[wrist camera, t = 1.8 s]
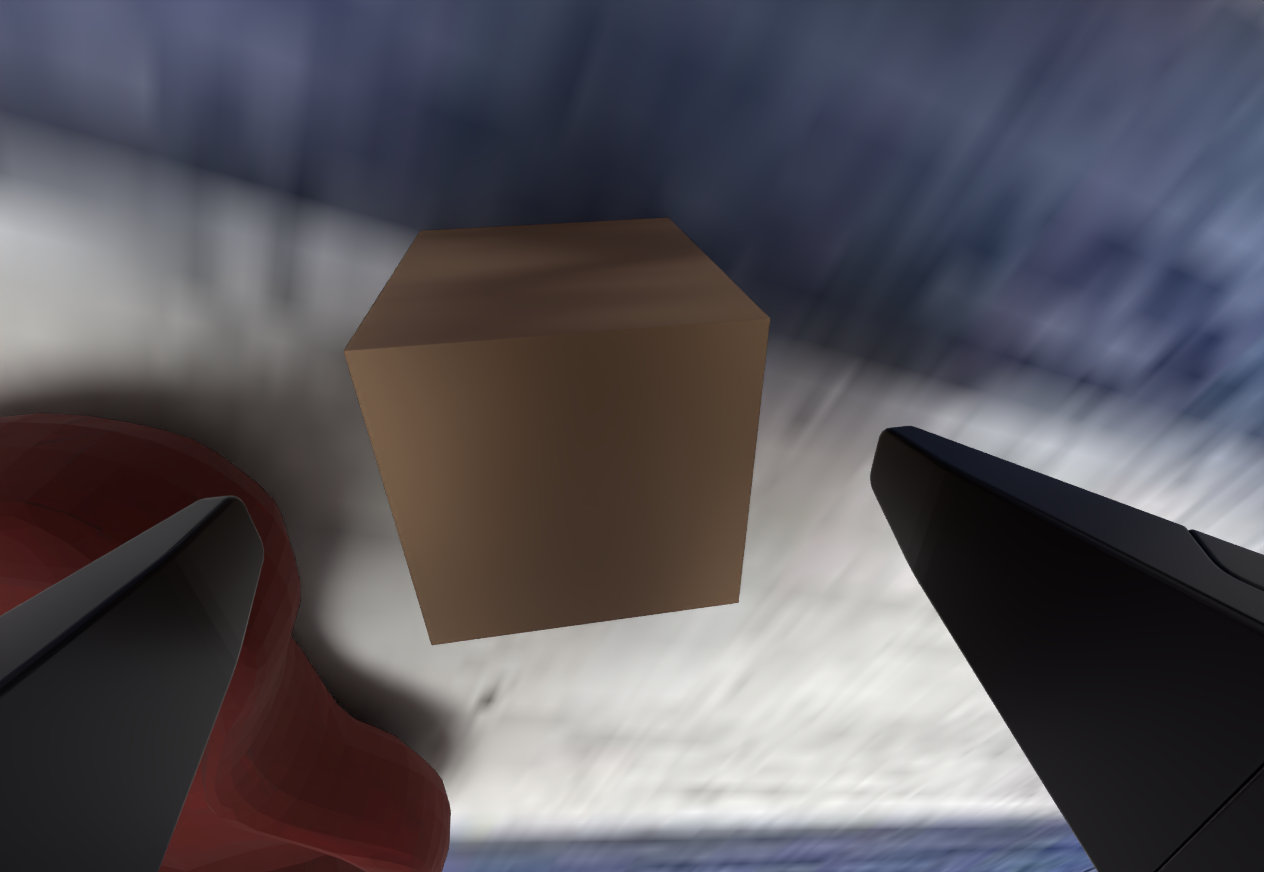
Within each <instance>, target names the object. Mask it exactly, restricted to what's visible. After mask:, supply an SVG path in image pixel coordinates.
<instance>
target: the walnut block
mask: <svg viewBox="0 0 1264 872" xmlns="http://www.w3.org/2000/svg"><path fill="white" fill-rule="evenodd" d="M769 325H770V318H769V317H768V316H767V315H766V314H765V313H764V312H763V311H762V310H761V309H760V308H759V307H758V306H757V305H756V304H755V303H754V302H753V301H752V300H751V299H750V298H749V297H748V296H747V295H746V294H745V293H744V292H743V291H742V290H741V289H740V288H739V287H738V286H737V285H736V284H735V283H734V282H733V281H732V280H731V279H730V278H729V277H728V276H727V275H726V274H725V273H724V272H723V271H722V270H721V269H720V268H719V267H718V266H717V265H716V264H715V263H714V262H713V261H712V260H711V259H710V258H709V257H708V256H707V255H706V254H705V253H704V252H703V251H702V250H701V249H700V248H699V247H698V246H697V245H696V244H695V243H694V242H693V241H692V240H691V239H690V238H689V237H688V236H687V235H686V234H685V233H684V232H683V231H682V230H681V229H680V228H679V227H678V226H677V225H676V224H675V223H674V222H673V221H672V220H671V219H670V218H669V217H668V218H649V219H630V220H612V221H593V222H574V223H555V224H536V225H517V226H499V227H480V228H461V229H442V230H423V231H420V232H419V233H418V235H417V236H416V238H415V240H414V241H413V243H412V244H411V246H410V247H409V249H408V251H407V252H406V254H405V255H404V257H403V258H402V260H401V262H400V263H399V265H398V266H397V268H396V269H395V271H394V273H393V274H392V276H391V277H390V279H389V280H388V282H387V283H386V285H385V287H384V288H383V290H382V291H381V293H380V294H379V296H378V298H377V299H376V301H375V302H374V304H373V305H372V307H371V309H370V310H369V312H368V313H367V315H366V316H365V318H364V320H363V321H362V323H361V324H360V326H359V327H358V329H357V331H356V332H355V334H354V335H353V337H352V338H351V340H350V342H349V343H348V345H347V346H346V348H345V349H344V355H345V358H346V361H347V365H348V368H349V371H350V375H351V378H352V381H353V385H354V388H355V391H356V395H357V398H358V401H359V405H360V408H361V411H362V415H363V418H364V421H365V425H366V428H367V431H368V435H369V438H370V441H371V445H372V448H373V451H374V455H375V458H376V461H377V465H378V468H379V471H380V475H381V478H382V481H383V485H384V488H385V491H386V495H387V498H388V501H389V505H390V508H391V511H392V515H393V518H394V521H395V525H396V528H397V531H398V535H399V538H400V541H401V545H402V548H403V551H404V555H405V558H406V561H407V565H408V568H409V571H410V575H411V578H412V581H413V585H414V588H415V591H416V595H417V598H418V601H419V605H420V608H421V611H422V615H423V618H424V621H425V625H426V628H427V631H428V635H429V638H430V641H431V645H437V644H444V643H451V642H458V641H466V640H473V639H480V638H487V637H494V636H502V635H509V634H516V633H523V632H531V631H538V630H545V629H552V628H559V627H567V626H574V625H581V624H588V623H596V622H603V621H610V620H617V619H624V618H632V617H639V616H646V615H653V614H661V613H668V612H675V611H682V610H689V609H697V608H704V607H711V606H718V605H726V604H733V603H738V602H739V593H740V584H741V575H742V566H743V557H744V549H745V540H746V531H747V522H748V513H749V504H750V495H751V486H752V477H753V468H754V459H755V450H756V441H757V432H758V423H759V414H760V405H761V396H762V387H763V379H764V370H765V361H766V352H767V343H768V334H769Z"/></svg>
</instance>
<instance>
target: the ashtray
mask: <svg viewBox="0 0 1264 872" xmlns="http://www.w3.org/2000/svg"><path fill="white" fill-rule="evenodd" d="M221 496H236V497H238V498H240V499H241V500H242V501H243V503H244V504H245V506H246V508H247V510H248V512H249V515H250V517H251V519H252V521H253V523H254V525H255V527H256V529H257V532H258V534H259V536H260V538H261V540H262V543H263V547H264V559H263V564H262V568H261V572H260V576H259V580H258V584H257V588H256V592H255V596H254V600H253V604H252V608H251V612H250V616H249V620H248V624H247V628H246V632H245V636H244V640H243V644H242V647H241V651H240V654H239V658H238V661H237V664H236V667H235V670H234V673H233V676H232V679H231V682H230V684H229V687H228V689H227V692H226V695H225V697H224V700H223V703H222V705H221V708H220V711H219V713H218V716H217V718H216V721H215V724H214V726H213V729H212V732H211V734H210V737H209V740H208V742H207V745H206V747H205V750H204V753H203V755H202V758H201V761H200V763H199V766H198V769H197V771H196V774H195V776H194V779H193V782H192V784H191V787H190V790H189V792H188V795H187V798H186V800H185V803H184V805H183V808H182V811H181V813H180V816H179V819H178V821H177V824H176V827H175V829H174V832H173V834H172V837H171V840H170V842H169V845H168V848H167V850H166V853H165V856H164V858H163V861H162V863H161V866H160V869H159V871H158V872H442V870H443V867H444V863H445V860H446V857H447V853H448V849H449V841H450V816H451V810H450V804H449V801H448V797H447V794H446V791H445V787H444V784H443V781H442V779H441V777H440V776H439V775H438V773H437V772H436V771H435V770H434V769H433V768H432V767H431V766H430V765H429V764H428V763H427V762H426V761H425V760H424V759H423V758H422V757H420V756H419V755H418V754H417V753H416V752H415V751H413V750H412V749H411V748H410V747H408V746H407V745H406V744H405V743H403V742H402V741H401V740H399V739H398V738H397V737H396V736H394V735H392V734H390V733H388V732H385V731H383V730H381V729H379V728H377V727H374V726H372V725H369V724H367V723H364V722H362V721H359V720H356V719H354V718H353V717H352V716H351V715H349V714H348V713H347V712H346V711H345V710H344V709H343V708H342V707H341V706H339V705H338V704H337V702H336V701H335V700H334V698H333V697H332V695H331V694H330V692H329V691H328V690H327V688H326V687H325V685H324V684H323V682H322V681H321V679H320V677H319V676H318V674H317V673H316V671H315V670H314V668H313V666H312V665H311V663H310V662H309V660H308V659H307V657H306V656H305V654H304V652H303V651H302V649H301V648H300V646H299V645H298V644H297V643H296V642H295V641H294V639H293V638H292V637H291V634H292V631H293V627H294V623H295V620H296V616H297V613H298V609H299V606H300V602H301V589H300V577H299V573H298V569H297V564H296V560H295V556H294V553H293V550H292V547H291V544H290V541H289V537H288V534H287V531H286V527H285V524H284V521H283V517H282V515H281V513H280V511H279V509H278V507H277V505H276V502H275V500H274V499H273V498H272V497H271V496H270V495H269V494H268V493H267V492H266V491H265V490H264V489H263V488H262V487H261V486H260V485H259V484H258V483H257V482H255V481H254V480H253V479H251V478H250V477H249V476H247V475H246V474H245V473H243V472H242V471H241V470H240V469H238V468H237V467H236V466H234V465H233V464H232V463H230V462H229V461H227V460H226V459H225V458H223V457H222V456H221V455H219V454H218V453H216V452H215V451H213V450H211V449H209V448H208V447H206V446H204V445H202V444H201V443H199V442H197V441H195V440H193V439H190V438H187V437H184V436H181V435H178V434H175V433H172V432H169V431H166V430H161V429H157V428H152V427H147V426H143V425H138V424H134V423H128V422H122V421H116V420H111V419H105V418H99V417H93V416H84V415H69V414H53V413H34V414H24V415H14V416H5V417H0V616H1V615H3V614H5V613H6V612H8V611H10V610H11V609H13V608H15V607H16V606H18V605H20V604H22V603H23V602H25V601H27V600H28V599H30V598H32V597H34V596H35V595H37V594H39V593H40V592H42V591H44V590H46V589H47V588H49V587H51V586H52V585H54V584H56V583H58V582H59V581H61V580H63V579H64V578H66V577H68V576H70V575H71V574H73V573H75V572H76V571H78V570H80V569H82V568H83V567H85V566H87V565H88V564H90V563H92V562H93V561H95V560H97V559H99V558H100V557H102V556H104V555H105V554H107V553H109V552H111V551H112V550H114V549H116V548H117V547H119V546H121V545H123V544H124V543H126V542H128V541H129V540H131V539H133V538H135V537H136V536H138V535H140V534H141V533H143V532H145V531H147V530H148V529H150V528H152V527H153V526H155V525H157V524H159V523H160V522H162V521H164V520H165V519H167V518H169V517H170V516H172V515H174V514H176V513H177V512H179V511H181V510H182V509H184V508H186V507H188V506H189V505H191V504H193V503H194V502H196V501H198V500H200V499H204V498H211V497H221Z"/></svg>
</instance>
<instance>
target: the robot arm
mask: <svg viewBox="0 0 1264 872" xmlns="http://www.w3.org/2000/svg"><path fill="white" fill-rule="evenodd" d="M870 481H871V486H872V489H873V492H874V494H875V496H876V498H877V500H878V502H879V504H880V506H881V508H882V511H883V513H884V515H885V517H886V519H887V521H888V523H889V525H890V527H891V529H892V531H893V533H894V536H895V538H896V540H897V542H898V544H899V546H900V548H901V550H902V552H903V554H904V556H905V559H906V560H907V562H908V564H909V566H910V568H911V570H912V572H913V574H914V575H915V577H916V579H917V581H918V582H919V584H920V586H921V587H922V589H923V591H924V592H925V594H926V595H927V597H928V599H929V600H930V602H931V603H932V605H933V607H934V608H935V610H936V612H937V613H938V615H939V616H940V618H941V620H942V621H943V623H944V624H945V626H946V628H947V629H948V631H949V633H950V634H951V636H952V637H953V639H954V641H955V642H956V644H957V645H958V647H959V649H960V650H961V652H962V653H963V655H964V657H965V658H966V660H967V662H968V663H969V665H970V666H971V668H972V670H973V671H974V673H975V674H976V676H977V678H978V679H979V681H980V683H981V684H982V686H983V687H984V689H985V691H986V692H987V694H988V695H989V697H990V699H991V700H992V702H993V704H994V705H995V707H996V708H997V710H998V712H999V713H1000V715H1001V716H1002V718H1003V720H1004V721H1005V723H1006V725H1007V726H1008V728H1009V729H1010V731H1011V733H1012V734H1013V736H1014V737H1015V739H1016V741H1017V742H1018V744H1019V745H1020V747H1021V749H1022V750H1023V752H1024V754H1025V755H1026V757H1027V758H1028V760H1029V762H1030V763H1031V765H1032V766H1033V768H1034V770H1035V771H1036V773H1037V775H1038V776H1039V778H1040V779H1041V781H1042V783H1043V784H1044V786H1045V787H1046V789H1047V791H1048V792H1049V794H1050V796H1051V797H1052V799H1053V800H1054V802H1055V804H1056V805H1057V807H1058V808H1059V810H1060V812H1061V813H1062V815H1063V817H1064V818H1065V820H1066V821H1067V823H1068V825H1069V826H1070V828H1071V829H1072V831H1073V833H1074V834H1075V836H1076V838H1077V839H1078V841H1079V842H1080V844H1081V846H1082V847H1083V849H1084V850H1085V852H1086V854H1087V855H1088V857H1089V858H1090V860H1091V862H1092V863H1093V865H1094V867H1095V868H1096V870H1097V871H1098V872H1264V555H1262V554H1260V553H1257V552H1254V551H1251V550H1248V549H1246V548H1243V547H1240V546H1237V545H1234V544H1232V543H1229V542H1226V541H1223V540H1221V539H1218V538H1215V537H1213V536H1210V535H1207V534H1204V533H1202V532H1199V531H1196V530H1187V528H1186V527H1184V526H1182V525H1180V524H1177V523H1174V522H1172V521H1169V520H1166V519H1163V518H1161V517H1158V516H1155V515H1153V514H1150V513H1147V512H1144V511H1142V510H1139V509H1136V508H1134V507H1131V506H1128V505H1125V504H1123V503H1120V502H1117V501H1115V500H1112V499H1109V498H1106V497H1104V496H1101V495H1098V494H1096V493H1093V492H1090V491H1087V490H1085V489H1082V488H1079V487H1077V486H1074V485H1071V484H1068V483H1066V482H1063V481H1060V480H1058V479H1055V478H1052V477H1049V476H1047V475H1044V474H1041V473H1039V472H1036V471H1033V470H1030V469H1028V468H1025V467H1022V466H1020V465H1017V464H1014V463H1011V462H1009V461H1006V460H1003V459H1001V458H998V457H995V456H992V455H990V454H987V453H984V452H982V451H979V450H976V449H973V448H971V447H968V446H965V445H963V444H960V443H957V442H954V441H952V440H949V439H946V438H944V437H941V436H938V435H935V434H933V433H930V432H927V431H924V430H922V429H919V428H916V427H913V426H902V427H893V428H887V429H885V430H884V431H882V433H881V434H880V437H879V440H878V444H877V448H876V452H875V456H874V460H873V464H872V468H871V473H870ZM263 559H264V547H263V543H262V540H261V538H260V536H259V534H258V532H257V529H256V527H255V525H254V523H253V521H252V519H251V517H250V515H249V512H248V510H247V508H246V506H245V504H244V503H243V501H242V500H241V499H240V498H238V497H236V496H221V497H211V498H204V499H200V500H198V501H196V502H194V503H193V504H191V505H189V506H188V507H186V508H184V509H182V510H181V511H179V512H177V513H176V514H174V515H172V516H170V517H169V518H167V519H165V520H164V521H162V522H160V523H159V524H157V525H155V526H153V527H152V528H150V529H148V530H147V531H145V532H143V533H141V534H140V535H138V536H136V537H135V538H133V539H131V540H129V541H128V542H126V543H124V544H123V545H121V546H119V547H117V548H116V549H114V550H112V551H111V552H109V553H107V554H105V555H104V556H102V557H100V558H99V559H97V560H95V561H93V562H92V563H90V564H88V565H87V566H85V567H83V568H82V569H80V570H78V571H76V572H75V573H73V574H71V575H70V576H68V577H66V578H64V579H63V580H61V581H59V582H58V583H56V584H54V585H52V586H51V587H49V588H47V589H46V590H44V591H42V592H40V593H39V594H37V595H35V596H34V597H32V598H30V599H28V600H27V601H25V602H23V603H22V604H20V605H18V606H16V607H15V608H13V609H11V610H10V611H8V612H6V613H5V614H3V615H1V616H0V872H158V871H159V869H160V866H161V863H162V861H163V858H164V856H165V853H166V850H167V848H168V845H169V842H170V840H171V837H172V834H173V832H174V829H175V827H176V824H177V821H178V819H179V816H180V813H181V811H182V808H183V805H184V803H185V800H186V798H187V795H188V792H189V790H190V787H191V784H192V782H193V779H194V776H195V774H196V771H197V769H198V766H199V763H200V761H201V758H202V755H203V753H204V750H205V747H206V745H207V742H208V740H209V737H210V734H211V732H212V729H213V726H214V724H215V721H216V718H217V716H218V713H219V711H220V708H221V705H222V703H223V700H224V697H225V695H226V692H227V689H228V687H229V684H230V682H231V679H232V676H233V673H234V670H235V667H236V664H237V661H238V658H239V654H240V651H241V647H242V644H243V640H244V636H245V632H246V628H247V624H248V620H249V616H250V612H251V608H252V604H253V600H254V596H255V592H256V588H257V584H258V580H259V576H260V572H261V568H262V564H263Z"/></svg>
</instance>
